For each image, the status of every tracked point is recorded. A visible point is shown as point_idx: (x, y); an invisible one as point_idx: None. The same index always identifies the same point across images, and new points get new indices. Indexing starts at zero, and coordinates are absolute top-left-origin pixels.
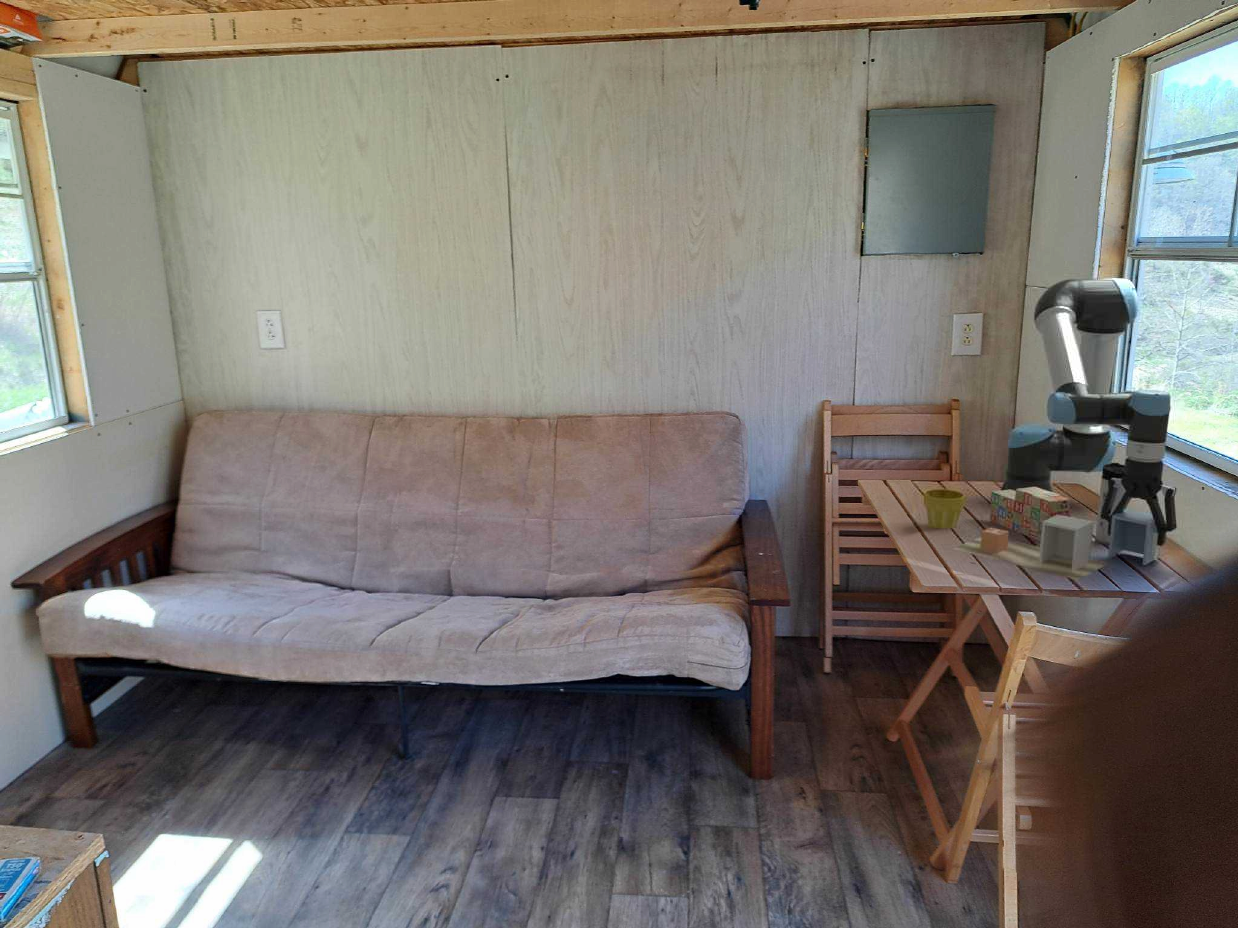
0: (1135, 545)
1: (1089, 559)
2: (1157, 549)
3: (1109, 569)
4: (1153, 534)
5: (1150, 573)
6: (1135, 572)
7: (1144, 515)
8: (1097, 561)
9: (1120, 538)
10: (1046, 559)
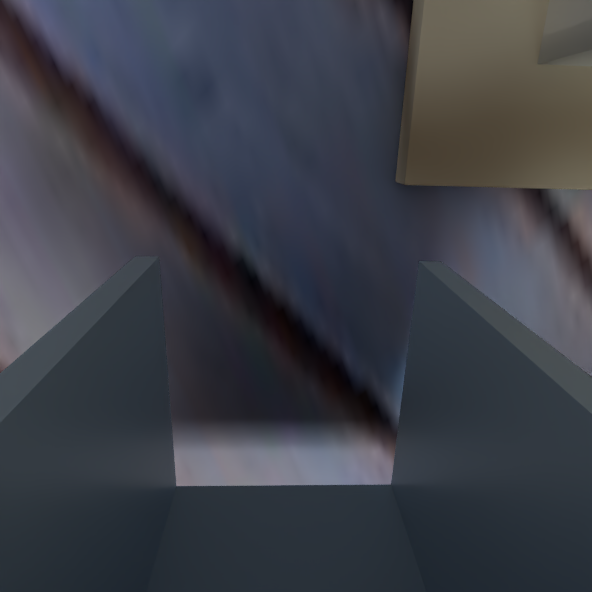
0: (321, 530)
1: (559, 47)
2: None
3: (371, 129)
4: None
5: (118, 255)
6: (201, 200)
7: None
8: (488, 157)
9: (441, 498)
10: None
